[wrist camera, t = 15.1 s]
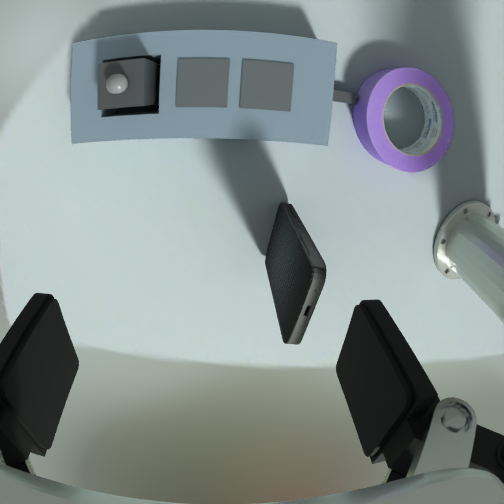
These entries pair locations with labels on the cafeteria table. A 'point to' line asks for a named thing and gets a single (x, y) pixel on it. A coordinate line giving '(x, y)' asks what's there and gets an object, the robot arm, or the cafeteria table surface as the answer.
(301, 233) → the phone
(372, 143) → the masking tape
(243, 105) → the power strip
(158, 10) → the cafeteria table surface
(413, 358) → the robot arm
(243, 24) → the cafeteria table surface
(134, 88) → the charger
